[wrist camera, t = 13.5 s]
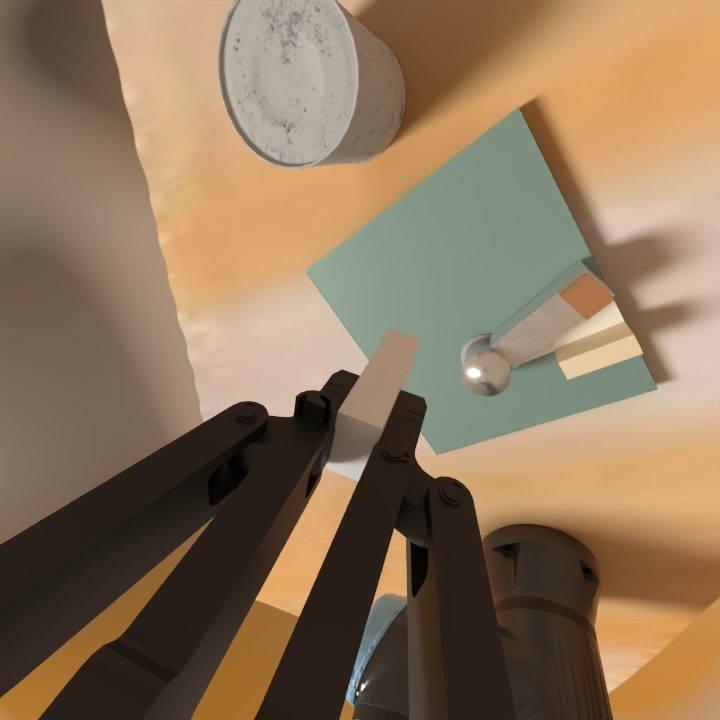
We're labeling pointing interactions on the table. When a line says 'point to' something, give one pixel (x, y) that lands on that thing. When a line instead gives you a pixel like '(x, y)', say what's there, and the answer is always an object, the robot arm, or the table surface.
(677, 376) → the table surface
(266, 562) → the robot arm
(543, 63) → the table surface
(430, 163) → the table surface
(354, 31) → the speckled grey cylinder
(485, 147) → the board
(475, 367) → the bar
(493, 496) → the table surface
